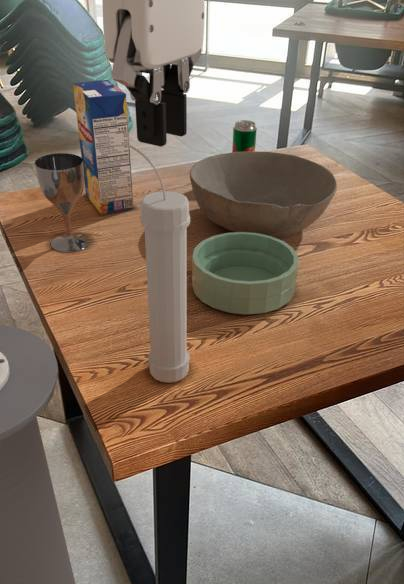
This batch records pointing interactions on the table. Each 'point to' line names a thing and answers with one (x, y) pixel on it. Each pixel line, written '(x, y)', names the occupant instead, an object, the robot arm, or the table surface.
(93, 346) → the table surface
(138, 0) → the robot arm
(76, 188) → the wine glass
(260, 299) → the green round dish
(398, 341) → the table surface
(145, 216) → the pipe
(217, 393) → the table surface
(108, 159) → the cereal box
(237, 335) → the table surface
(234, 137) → the soda can
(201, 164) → the bowl
